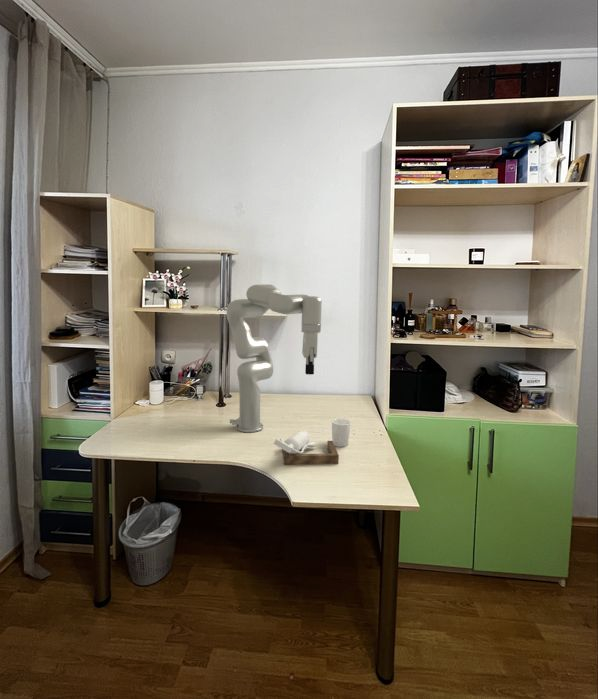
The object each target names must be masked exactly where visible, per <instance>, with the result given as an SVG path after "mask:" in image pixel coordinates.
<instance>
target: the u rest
mask: <svg viewBox="0 0 598 699" xmlns="http://www.w3.org/2000/svg"><path fill="white" fill-rule="evenodd" d="M283 441H284V440H283ZM285 441H286V440H285ZM285 441H284V442H285ZM326 445H327V446H326V447H327V448H326V449H327V452H328V453H327V452H326V453H325V452H324V453H300V454H299V453H296V454H289V453H288V452H286V451H285V450H283V449H281V452H282V459H283V465H284V466H289V465H290V466H292V465H293V466H295V465H298V466H299V465H303V466H305V465H338V464H339V462H340V461H339V459H340V455H339V452H338V450H337V448H336V446H335V445H334V444H333V441H332V440H327V444H326Z"/></svg>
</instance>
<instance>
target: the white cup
mask: <svg viewBox="0 0 598 699" xmlns="http://www.w3.org/2000/svg"><path fill="white" fill-rule="evenodd" d="M350 432H351V421H350V420H349V419H344V418H335V419H333V420H331V438H332V439H331V441H333V444H334V446H335V447H338V448H339V447H341V448H343V447H347V446H348V445H349V439H350Z"/></svg>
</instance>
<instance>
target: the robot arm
mask: <svg viewBox="0 0 598 699" xmlns="http://www.w3.org/2000/svg"><path fill="white" fill-rule="evenodd" d="M245 295H246V298H243V299H242V298H241V299H234V300H232V301H231V302H229V304H227V308H226V319H227V322H228V324H229V327H230V330H231V332H232V333H231V334H232V338H233V343H234V348H235V353H236V355H237V357H238V358H239V359H241V360H248V359H254V358H255V359H256V360H249V361H245V362H242V363H240V364H239V366H238V367H237V371H236V373H237V379H238V384H239V386H238V389H239V394H238V395H239V417H238V418H236V419H233V418H231V419H229V424H231V425H232V426H234V425H235V429H236V430H237V431H239V432H241V433H257V432H260V431H261V430H263V429H264V424H263V423H261V390H260V388H259V386H258V384H257V382H261V381H264V380H267V379H268V380H269V379H271V378H272V377H273V374H274V365H273V360H272V356H271V355H272V354H271V349H270V346H269V343H268V342H267V340H266V339H265V338H263V337H262V336H253V335H252V332H251V331H252V330H251V327H250V326H249V324H248V323H247V321H246V320H245V319H247V318H251V319H252V318H259V317H262V316H264V315H265V314H266V313H267V312H268V311H269V310H270V311H272V312H275V313H277V314H283V315H295V314H296V315H298V314H301V328H300V329H301V333H303V334H302V335H303V336H302V349H301V350H302V352H301V354H302V356H303V358H305V372H304V373H305V375H314V374H315V359H316V358H317V356H318V341H319V340H318V339H319V338H318V336H319V334H320V333H321V330H322V327H321V326H322V325H321V324H322V304H323V303H322V297H320V296H315V295H314V296H312V295H310V296H309V295H307V294H282V292H281V291H280V289H278V288H277V287H276V286H275V285H273V284H253V285H251V286H249V287H248V288H247V290H246V294H245Z"/></svg>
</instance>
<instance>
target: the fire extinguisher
mask: <svg viewBox="0 0 598 699" xmlns="http://www.w3.org/2000/svg"><path fill="white" fill-rule="evenodd" d="M273 445H275V446H277V447H278V448H280V449H281V450H282V449H283V450H285V451H286V452H288V453H289V454H304V453H305V449H306V448H307V447H308V448H316V447H317V444H316V443H315V442H314V441H312V442H310V435H309V433H308V432H307V431H305V430H298V431H297V432H296V433H294V434H292V435H291V436H289V437H288V438H287V439H286V440H285V442H284V438H282V437H281V438H280V439H278V438H275V440H274V442H273ZM300 450H301V451H300Z"/></svg>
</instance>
